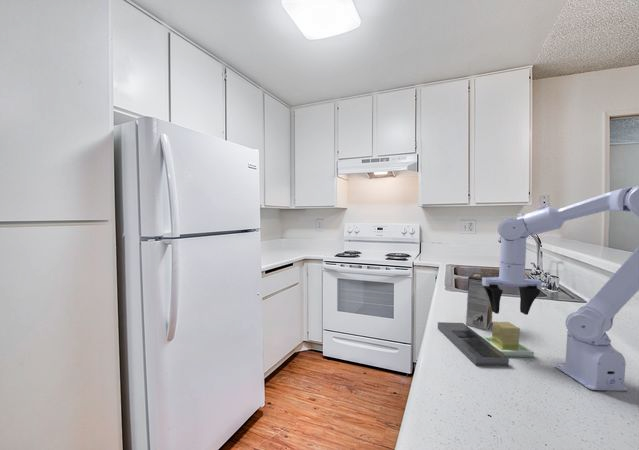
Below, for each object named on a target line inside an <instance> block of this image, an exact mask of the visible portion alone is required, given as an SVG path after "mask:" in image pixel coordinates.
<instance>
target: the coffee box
mask: <svg viewBox="0 0 639 450" xmlns="http://www.w3.org/2000/svg"><path fill="white" fill-rule="evenodd" d="M467 277H468V280H467V298H466V301H467V302H466V316H465V319H466V320H465V325H467V326H468V327H469V326H470V327H475V328H477V329H480V330H481V329H482V330H485V331H487V330H488V329H489V327H490V325H491V324H492V323H493V311H492V308H491V303H490V300H489V297H488V294H487V292H486V290H485V288H484V285H482V278H489V277H495V275H492V274H486V273H479V272H473V273H472V274H470V275H469V276H467Z"/></svg>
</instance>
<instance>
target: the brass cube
mask: <svg viewBox="0 0 639 450" xmlns="http://www.w3.org/2000/svg"><path fill="white" fill-rule="evenodd" d="M520 329H521V328H520V327H518V326H516V325H514V324H513V323H511V322H509V321H492V332H491V333H492V343H493V344H494V345H495V346H497V347H498V348H499V349H501V350H518V347H519V343H520Z"/></svg>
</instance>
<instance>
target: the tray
mask: <svg viewBox="0 0 639 450" xmlns="http://www.w3.org/2000/svg"><path fill="white" fill-rule="evenodd" d="M480 336H481V337H482V338H484V339H485V340H486V341H488V342H489V343H490V344H491V345H493V346H494V347H495V348H497V349H498V350H499V351H501V352H502V353H503V354H505V355H506V356H507V357H509V358H534V357H535V351H533V350H532V349H530V348H529V347H528V346H526V345H524V344H522V343H521V342H519V347H518V350H501V349H499V348H498V347H497V346H495V345H494V344H493V343H492V336H489V335H488V336H484V335H483V336H482V335H480Z"/></svg>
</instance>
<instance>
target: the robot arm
mask: <svg viewBox="0 0 639 450" xmlns="http://www.w3.org/2000/svg"><path fill="white" fill-rule="evenodd" d="M606 211H608V212H609V211H617V212H632V213H633V214H634V215H635V216H636V217H637V218H638V219H639V185H636V186H635V187H631V186H629V187H624V188H620V189H615V190H613V191H609V192H605V193H602V194H600V195H596V196H593V197H591V198H587V199H585V200H581V201H579V202H576V203H573V204H570V205H567V206H564V207H561V208H557V207H554V206H551V205H550V206H546V205H540V206H539V207H537V210H533V211H531V212H528V213H525V214H524V213H518V214H517V218H514V217H506V218H505V219H502V220H501V221H500V222H499V223H498V227H497V232H498V234H499V236H500V249H499V250H500V251H499V275H498V276H494V277H489V278H482V285H484V288H485V290H486V292H487V294H488V297H489V300H490V303H491V308H492V313H494V314H499V313H500V305H501V304H500V302H501V298H502V294H503V289H501V288H500V287H518V290H519V299H520V301H519V303H520V304H519V310H520V313H522V314H524V315H526V316H527V315H529V312H530V310H531V307H532V306H533V303H534V301H535V300H536V298H537V297H538V296H539V295H540V294H541V290H540V289H541V288H542V282H543V281H542V280H540V279H535V278H526V277H525V275H526V261H527V260H526V254H527V238H528V237H529V236H530V237H533V236H536V235H540V234H543V233H547V232H550V231H555V230H560V229H561V228H562V226H563V225H564V223H565V222H567V221H572V220H575V219H578V218H582V217H587V216H588V217H589V216H590V215H595V214H599V213H603V212H606ZM638 292H639V246H638V247H636V249H634V251H633V252H632V253H631V255H630V256H628V257H627V259H626V260H625V261H624V262H623V263H622V264H621V266H620V267H618V269H617V270H616V271H615V272H614V273H613V275H611V277H609V279H608V280H607V281H606V282H605V283H604V285H603V286H602V287H601V288H600V289H599V290H598V292H597V293H595V295H594V296H592V298H591V299H590V300H589V301H588V302H587V303H585V305H583V306H581V307H580V308H578V309H577V310H575V311H574V312H573V311H572V313H570V314H568V315H567V317H566V318H565V327H566V329H567V332H566V333H567V334H566V346H565V347H566V348H565V349H566V350H565V351H566V352H565V364H554V367H555V368H557V369H558V370H559V371H561V372H562V373H564V374H565V375H567V376H569V377H570V378H571V379H573V380H575V381H577V382H578V383H579V384H580V385H582V386H584V387H586V388H587V389H589V390H591V391H628V387H626V386H625V377H626V376H625V374H626V365H627V364H626V359H625V356H624V355H623V354H622V353H621V352H620V351H618V350H616V349H615V348H614V347H613V345H612V343H611V341H612V340H611V338H610V337H609V335H608V334H607V333H606V332H608V331H610V330H611V329H612V327H613V325H614V319H615V316H616V315H617V314H618V313H619V312H620V311H621V309H622V308H624V306H626V304H627V303H628V302H630V300H631V299H632V298H633V297H634V296H635V295H636V294H637V293H638Z"/></svg>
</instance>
